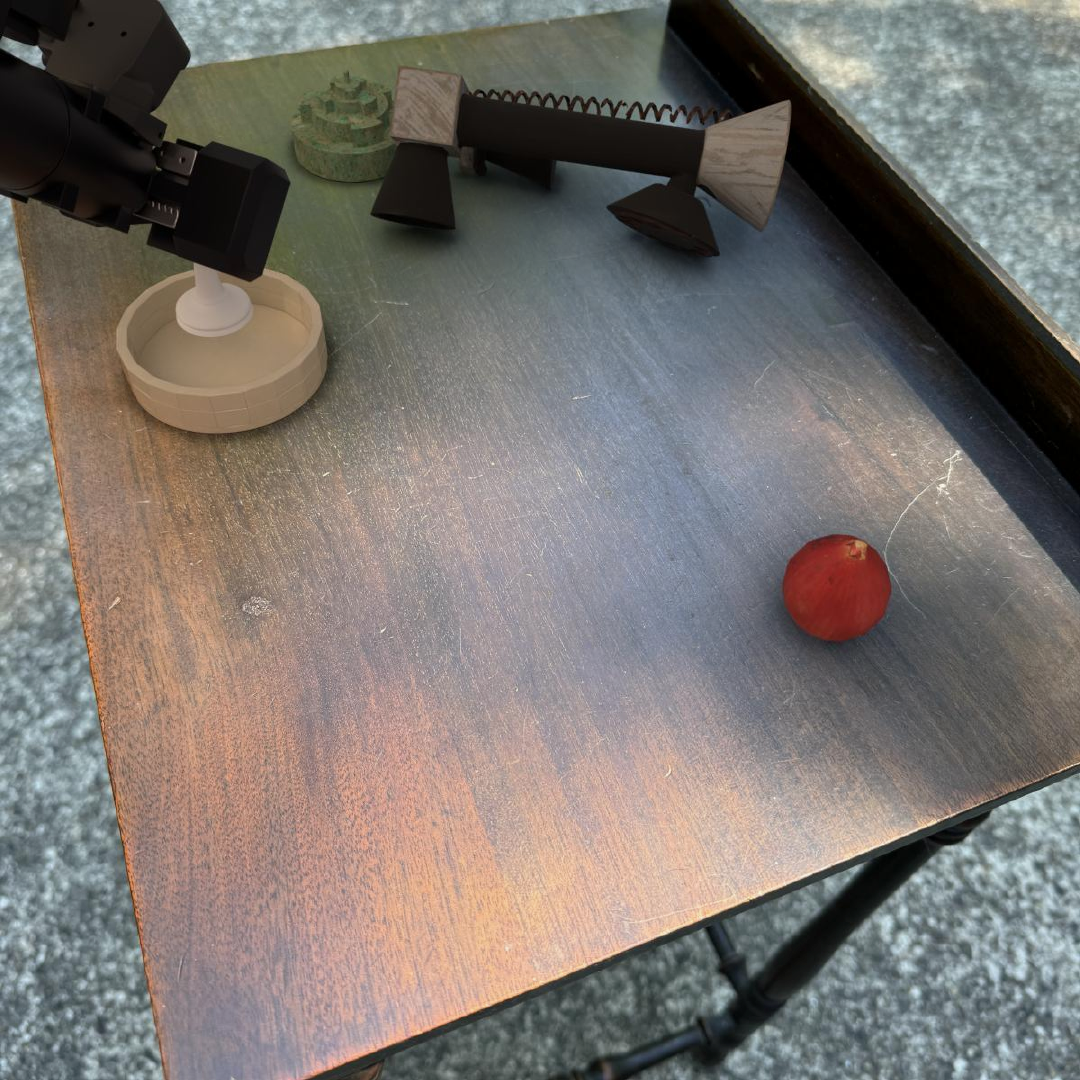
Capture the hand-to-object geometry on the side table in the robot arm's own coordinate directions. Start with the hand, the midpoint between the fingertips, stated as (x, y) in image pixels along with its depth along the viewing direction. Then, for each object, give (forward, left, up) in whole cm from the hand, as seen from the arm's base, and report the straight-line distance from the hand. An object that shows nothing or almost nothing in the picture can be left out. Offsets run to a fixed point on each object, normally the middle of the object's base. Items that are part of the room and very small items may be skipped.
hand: (207, 216), depth 63 cm
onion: (+31, -30, -11) cm, 45 cm away
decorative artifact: (+11, +25, -11) cm, 30 cm away
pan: (-1, -1, -11) cm, 11 cm away
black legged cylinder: (+27, +11, -11) cm, 32 cm away
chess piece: (-1, -1, -7) cm, 7 cm away
